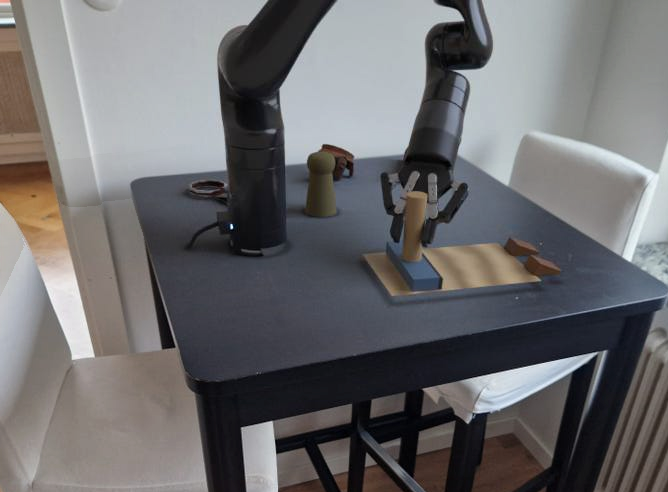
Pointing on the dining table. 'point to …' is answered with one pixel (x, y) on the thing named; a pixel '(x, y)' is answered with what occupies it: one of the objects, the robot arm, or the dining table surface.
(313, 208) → the olive game pawn
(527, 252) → the block
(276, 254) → the dining table surface
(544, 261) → the block
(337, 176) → the brown piece
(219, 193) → the keychain
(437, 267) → the cutting board
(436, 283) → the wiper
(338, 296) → the dining table surface
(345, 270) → the dining table surface
